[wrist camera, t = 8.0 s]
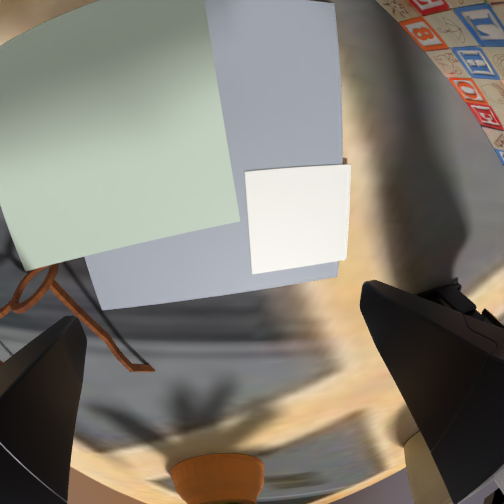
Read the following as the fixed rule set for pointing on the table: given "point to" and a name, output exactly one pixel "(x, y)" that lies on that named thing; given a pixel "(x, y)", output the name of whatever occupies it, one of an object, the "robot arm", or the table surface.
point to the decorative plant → (219, 479)
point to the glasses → (72, 305)
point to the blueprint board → (257, 166)
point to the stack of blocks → (463, 51)
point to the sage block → (112, 130)
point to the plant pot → (424, 473)
